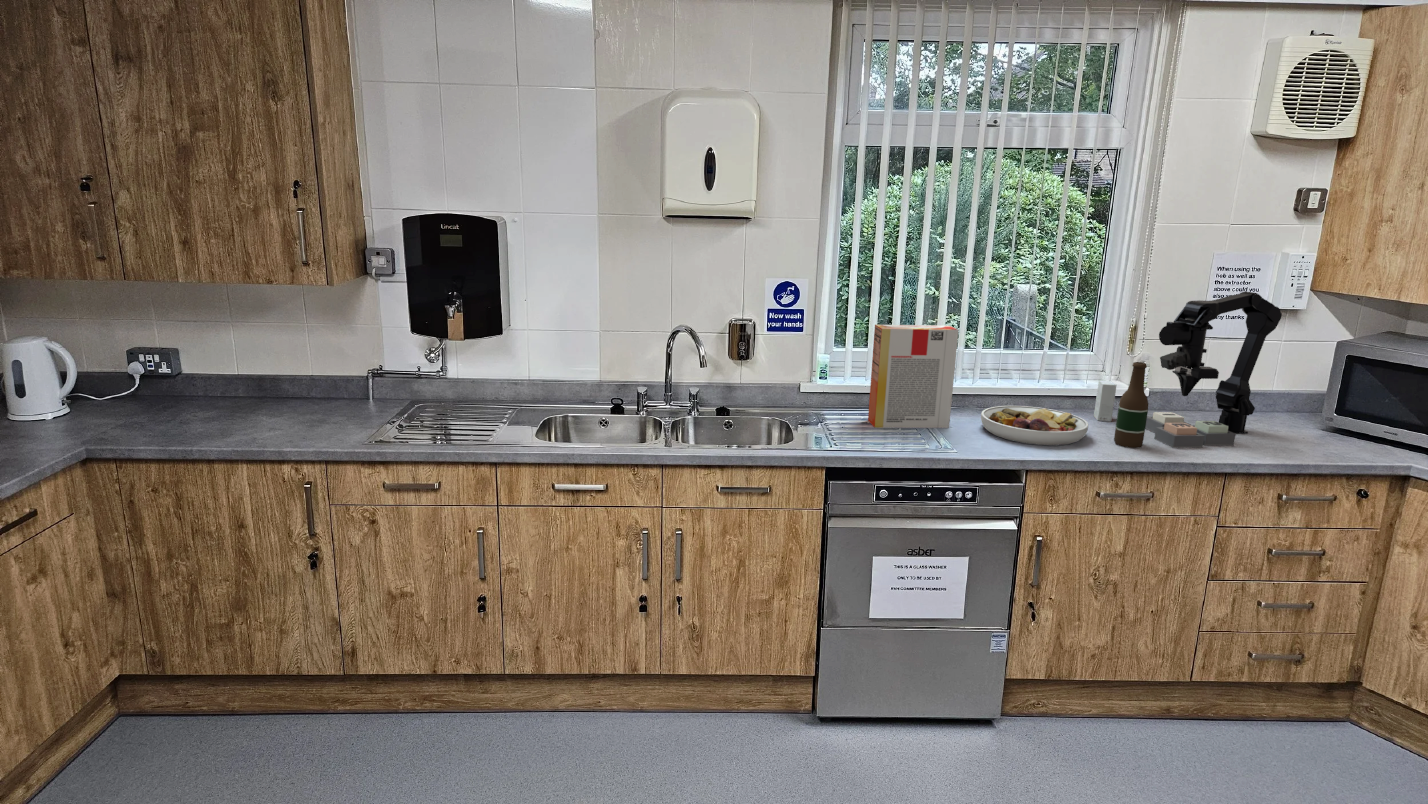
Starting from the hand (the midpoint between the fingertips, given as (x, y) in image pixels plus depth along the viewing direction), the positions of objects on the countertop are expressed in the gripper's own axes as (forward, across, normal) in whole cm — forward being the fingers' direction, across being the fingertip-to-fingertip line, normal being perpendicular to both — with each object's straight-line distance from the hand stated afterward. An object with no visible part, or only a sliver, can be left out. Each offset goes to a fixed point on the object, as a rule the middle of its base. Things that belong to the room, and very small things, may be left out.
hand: (1184, 396), depth 255 cm
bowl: (+12, -2, -45) cm, 47 cm away
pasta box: (+12, -12, -80) cm, 82 cm away
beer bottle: (+12, +10, -22) cm, 27 cm away
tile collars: (+12, +3, 0) cm, 12 cm away
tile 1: (+9, -3, -2) cm, 10 cm away
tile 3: (+9, +9, -6) cm, 14 cm away
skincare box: (+12, -18, -14) cm, 26 cm away
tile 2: (+9, +7, +5) cm, 12 cm away
